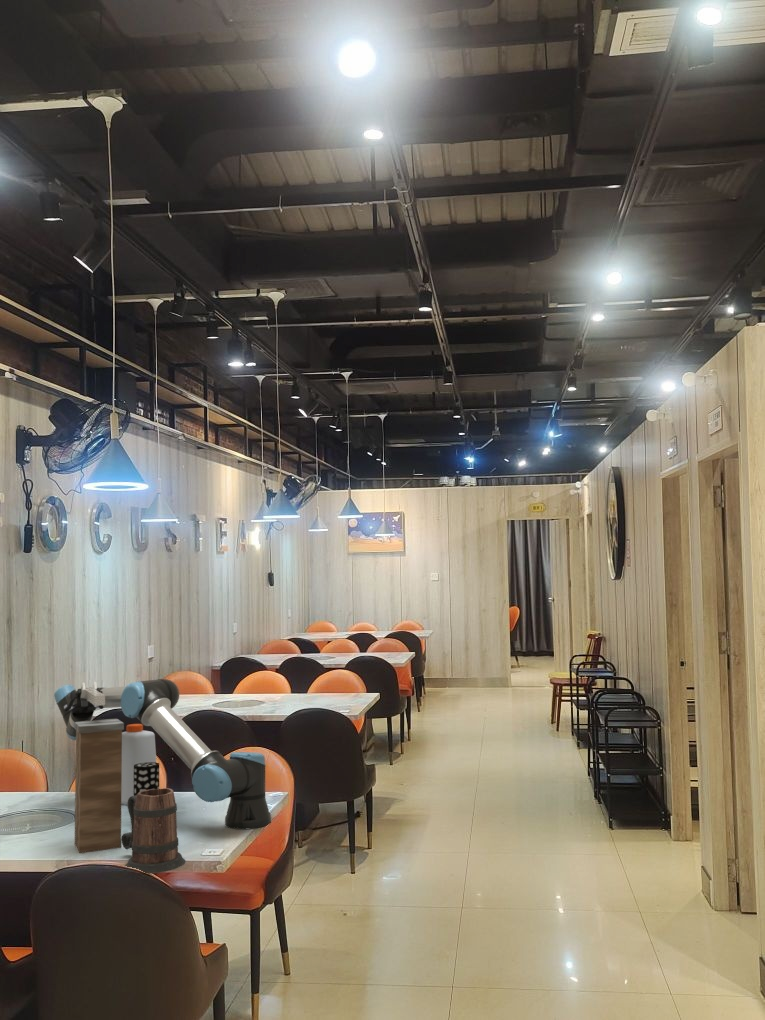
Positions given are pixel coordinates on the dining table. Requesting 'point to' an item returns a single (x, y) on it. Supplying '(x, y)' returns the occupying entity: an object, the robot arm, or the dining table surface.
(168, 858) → the tankard
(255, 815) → the robot arm
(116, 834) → the column
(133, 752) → the plastic bottle
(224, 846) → the dining table surface
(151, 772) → the white-spotted black cylinder
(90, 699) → the bar
